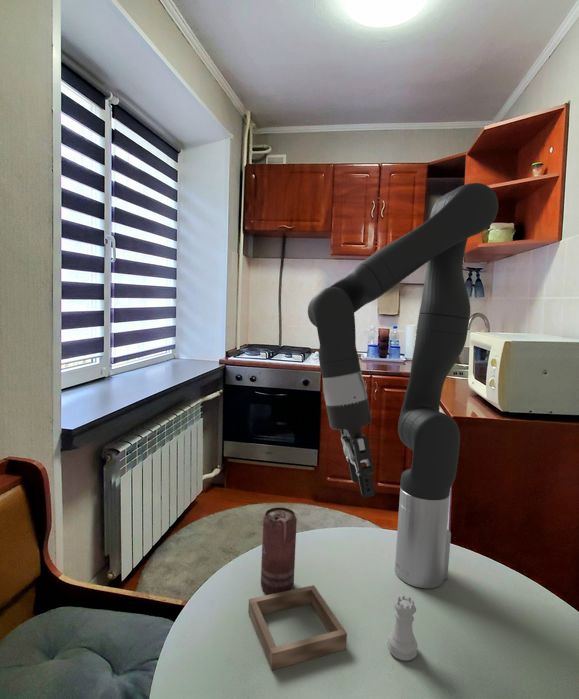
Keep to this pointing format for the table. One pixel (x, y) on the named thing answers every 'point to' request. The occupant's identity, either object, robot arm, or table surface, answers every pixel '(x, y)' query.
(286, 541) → the can
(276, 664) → the walnut collar
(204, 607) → the table surface
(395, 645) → the rook chess piece
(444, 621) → the table surface
